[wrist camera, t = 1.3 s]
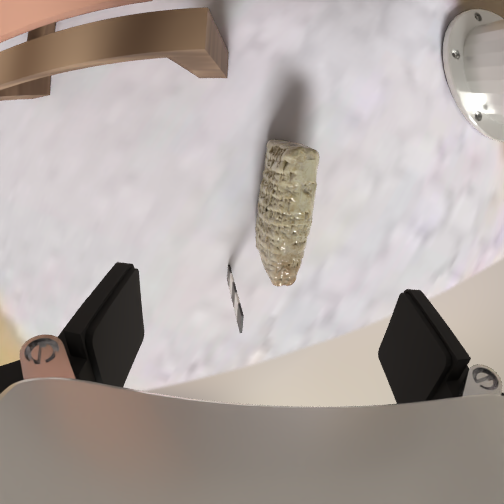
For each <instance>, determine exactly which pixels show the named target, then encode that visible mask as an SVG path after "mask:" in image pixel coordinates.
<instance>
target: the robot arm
mask: <svg viewBox="0 0 504 504" xmlns="http://www.w3.org/2000/svg"><path fill="white" fill-rule="evenodd" d="M443 62H444V70H445V74H446V78H447V82H448V85H449V88H450V91H451V93H452V96H453V98H454V100H455V102H456V104H457V106H458V108H459V109H460V111H461V112H462V114H463V115H464V117H465V118H466V120H467V121H468V122H469V123H470V124H471V125H472V126H473V127H474V128H475V129H476V130H477V131H479V132H480V133H481V134H482V135H484V136H486V137H488V138H490V139H492V140H497V141H500V142H504V19H503V18H502V17H500V16H499V15H497V14H495V13H493V12H491V11H488V10H483V9H471V10H468V11H465V12H462V13H461V14H459V15H457V16H456V17H455V18H454V19H453V20H452V21H451V22H450V24H449V26H448V28H447V30H446V33H445V37H444V42H443ZM143 338H144V324H143V315H142V305H141V293H140V281H139V271H138V269H135V268H134V265H133V264H128V263H119V262H117V263H116V264H115V265H114V266H113V267H112V269H111V270H110V271H109V272H108V273H107V275H106V276H105V277H104V278H103V280H102V281H101V282H100V283H99V285H98V286H97V287H96V288H95V290H94V291H93V292H92V293H91V295H90V296H89V297H88V298H87V299H86V300H85V302H84V303H83V304H82V305H81V307H80V308H79V309H78V311H77V312H76V313H75V315H74V316H73V317H72V319H71V320H70V321H69V323H68V324H67V325H66V327H65V328H64V329H63V331H62V332H61V333H60V335H59V336H58V337H55V336H52V335H39V336H36V337H33V338H31V339H29V340H28V341H26V343H25V344H24V345H23V346H22V348H21V350H20V360H18V361H15V362H12V363H9V364H6V365H3V366H0V504H504V393H502V381H501V379H500V377H499V375H498V374H497V373H496V372H495V371H494V370H493V369H491V368H489V367H488V366H484V365H478V364H477V365H473V366H472V367H470V369H469V368H468V366H467V364H468V363H469V361H470V359H471V358H470V357H469V355H468V354H467V352H466V351H465V349H464V348H463V346H462V345H461V344H460V342H459V341H458V340H457V338H456V336H455V335H454V334H453V332H452V331H451V330H450V328H449V327H448V326H447V324H446V323H445V321H444V320H443V319H442V317H441V316H440V315H439V313H438V312H437V311H436V309H435V308H434V307H433V305H432V304H431V303H430V301H429V300H428V299H427V298H426V296H425V295H424V294H423V292H422V291H421V290H411V289H406V290H405V291H404V293H401V294H400V295H399V298H398V301H397V304H396V306H395V309H394V312H393V315H392V317H391V320H390V323H389V326H388V328H387V330H386V333H385V335H384V338H383V341H382V343H381V345H380V348H379V351H378V357H379V360H380V362H381V365H382V367H383V370H384V372H385V374H386V377H387V380H388V382H389V385H390V387H391V389H392V392H393V394H394V397H395V400H396V402H397V404H388V405H373V406H349V407H289V406H265V405H249V404H236V403H225V402H215V401H206V400H197V399H190V398H182V397H175V396H169V395H162V394H156V393H150V392H145V391H139V390H134V389H129V388H123V386H124V383H125V381H126V379H127V376H128V374H129V371H130V369H131V367H132V364H133V362H134V360H135V357H136V355H137V353H138V350H139V348H140V346H141V344H142V341H143Z"/></svg>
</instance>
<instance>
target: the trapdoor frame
mask: <svg viewBox="0 0 504 504" xmlns="http://www.w3.org/2000/svg"><path fill="white" fill-rule="evenodd" d="M55 25H56V22H54V23H51V24H48V25H45V26H42V27H39V28H36V29H34V30H31V31H28V39H27V42H24V43H22V44H19V45H16V46H14V47H11V48H9V49H6V50H4V51H1V52H0V101H2V100H17V99H34V98H38V97H43V96H47V95H50V79H51V75H55V74H59V73H63V72H68V71H73V70H77V69H82V68H88V67H93V66H99V65H105V64H112V63H119V62H126V61H134V60H143V59H154V58H166V57H167V58H169V59H170V60H172V61H174V62H175V63H177V64H178V65H180V66H182V67H183V68H185V69H186V70H188V71H189V72H191V73H193V74H194V75H196V76H197V77H199V78H227V70H228V51H227V48H226V46H225V44H224V42H223V39H222V37H221V35H220V33H219V30H218V28H217V26H216V24H215V22H214V20H213V17H212V15H211V13H210V11H209V9H208V8H188V9H175V10H164V11H155V12H147V13H140V14H134V15H127V16H122V17H116V18H111V19H106V20H101V21H96V22H92V23H88V24H84V25H80V26H76V27H72V28H68V29H65V30H61V31H58V32H55Z"/></svg>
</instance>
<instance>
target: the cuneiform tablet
mask: <svg viewBox="0 0 504 504" xmlns="http://www.w3.org/2000/svg"><path fill="white" fill-rule="evenodd" d="M266 147H267V153H266V156H265V157H266V160H265V169H264V172H263V179H262V181H261V184H260V188H261V189H260V193H259V201H258V206H257V210H258V214H257V218H256V227H255V230H256V247H257V249H258V250H259V253H260V256H261V260H262V263H263V265H264V267H265V270H266V272H267V273H268V276H269V278H270V279H271V282H272V284H273V285H275V286H282V285H286V286H289V285H292V284H293V283H294V282H295V280H296V275H297V272H298V270H299V268H300V265H301V263H302V258H303V255H304V249H305V247H306V241H307V236H308V234H309V232H310V226H311V223H312V213H313V207H314V200H315V194H316V186H317V183H316V175H317V169H318V164H319V153H318V152H317V151H316V150H314V149H312V148H309V147H308V146H305V145H303V144H299V143H293V142H288V141H285V140H277V139H275V140H274V139H272V140H269V141H268V142H267V145H266ZM227 281H228V285H229V290H230V294H231V298H232V302H233V306H234V311H235V315H236V319H237V323H238V327H239V331H240V333H242V328H243V312H242V308H241V305H240V301H239V297H238V294H237V290H236V286H235V283H234V279H233V275H232V272H231V268H230V265H228V275H227Z"/></svg>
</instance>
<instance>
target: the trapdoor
mask: <svg viewBox="0 0 504 504" xmlns="http://www.w3.org/2000/svg"><path fill="white" fill-rule="evenodd" d="M148 1H153V0H0V43H1V42H3V41H6V40H8V39H10V38H13V37H15V36H18V35H20V34H23V33H26V32H28V31H31V30H34V29H36V28H39V27H42V26H45V25H48V24H51V23H54V22H58V21H61V20H64V19H68V18H71V17H75V16H78V15H82V14H86V13H90V12H94V11H99V10H103V9H108V8H112V7H118V6H123V5H128V4H134V3H141V2H148Z"/></svg>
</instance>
